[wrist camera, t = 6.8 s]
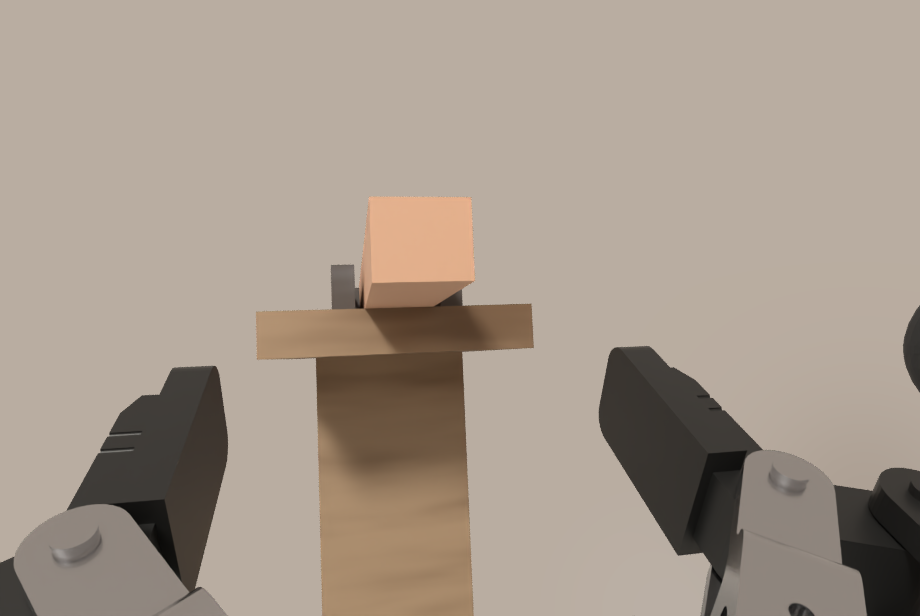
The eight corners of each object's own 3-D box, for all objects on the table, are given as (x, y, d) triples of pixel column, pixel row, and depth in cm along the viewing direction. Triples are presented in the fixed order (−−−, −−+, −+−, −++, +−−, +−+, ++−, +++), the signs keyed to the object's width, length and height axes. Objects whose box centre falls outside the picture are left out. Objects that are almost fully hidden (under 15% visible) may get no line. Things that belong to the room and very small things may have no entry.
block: (360, 324, 39) (359, 286, 39) (406, 323, 39) (405, 285, 39) (371, 283, 17) (369, 196, 17) (474, 280, 18) (471, 197, 18)
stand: (278, 788, 42) (269, 299, 44) (500, 751, 45) (479, 294, 47) (214, 1169, 22) (205, 253, 25) (616, 1058, 25) (569, 249, 28)
